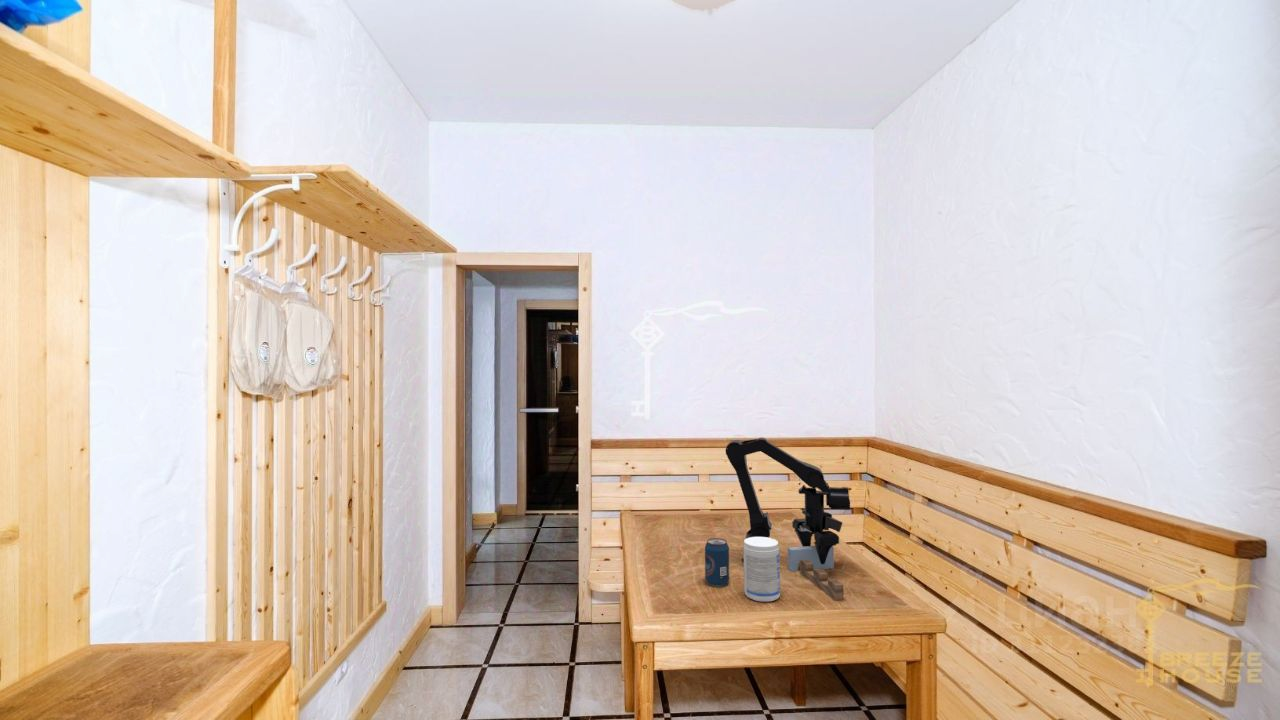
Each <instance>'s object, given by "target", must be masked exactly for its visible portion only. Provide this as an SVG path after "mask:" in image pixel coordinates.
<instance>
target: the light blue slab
mask: <svg viewBox="0 0 1280 720" xmlns="http://www.w3.org/2000/svg"><path fill="white" fill-rule="evenodd" d="M834 551H835V550H834V546H832V547H831V548H830V550H829V552H828V555H827V558H826V561H825V564H821V563H820V560H819V557H818V554H817V550H816V547H815V545H811V546H804V547H803V546H794V547H787V569H788V570H789V571H790V573H791V572H792V573H793V572H799V564H800V560H806V559H807V560H808V561H810V562H811V563H813V567H814V569H821V570H829V569H830V568H831V569H834V568H835V560H834V559H835V557H834V556H835V553H834Z"/></svg>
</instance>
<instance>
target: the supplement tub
mask: <svg viewBox="0 0 1280 720" xmlns="http://www.w3.org/2000/svg"><path fill="white" fill-rule="evenodd" d="M743 558H744V562H743V583H744V585H743V586H744V594H745V595H746V597H747V598H748V599H751V600H753V601H757V602H763V603H766V602H767V603H768V602H773V601H776V600H778V599H779V597H780V596H781V575H780V574H781V573H780V570H781V569H780V568H781V567H780V564H781V563H780V547H779V541H778V540H776V539H775V538H771V537H769V538H768V537H750V538H747V539H744V541H743Z"/></svg>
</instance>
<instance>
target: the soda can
mask: <svg viewBox="0 0 1280 720" xmlns="http://www.w3.org/2000/svg"><path fill="white" fill-rule="evenodd" d="M704 578H705V581H706V583H707V584H708V585H709V586H712V587H715V586H716V587H717V588H719V587H725V586H727V584H728V583H729V581H730V546H729V545H728V542H727V540H726V539H725V538H724V539H723V538H720V537H718V538H717V537H714V538H708V539H707V540H706V544H705V546H704Z"/></svg>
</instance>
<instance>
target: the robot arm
mask: <svg viewBox="0 0 1280 720" xmlns="http://www.w3.org/2000/svg"><path fill="white" fill-rule="evenodd" d="M758 452H762V453H763V454H764V455H766V456H767V457H769V458H771V459H773V460H774V461H776V462H777V463H779V464H780V465H782V466H784V467H786V468H787V469H789V470H791V471H792V472H793V473H794V474H795V475H796V476H797V477H798V478H799V479H800V480H801V481H802V482H804V484H802V486H801V487H800V488H798V491H797V492H798V494H799V495H801V494H802V495H804V509H802V510H801V514H803V515H804V518H795V519H793V521H792V524H791V525H792V529H793V530H794V532H795V534H796V536H797V538H798V540H799V542H800V544H801V545H802V546H801V547H804V546H812V545H811V544H812V536H813V535H814V537H813V538H814V542H813V543H814V546H815V547H816V550H817V554H818V557H819V560H820V563H821V564H825V561H826V558H827V555H828V552H829V550H830V548H831V547H834V546H836V545H838V544H840V536H839V535H838V534H837V533H835V532H833V531H836V532H838V533H840V532H841V529H842V526H843V521H840V520H839V519H837V518H834V517H833V515H832V514H831V513H829V512H826V511H825V505H826V506H827V507H828V508H829V510H839V511H851V500H850V494H849V488H848V487H847V486H843V487H841V486H840V487H839V486H838V487H837V486H834V487H833V486H830V485H829V483H828V482H827V481H826V480H825V477H824V476H825V475H824V474H823V471H822V470H821V468H820V467H818V466H816V465H813V464H811V463H808V462H805V461H802V460H800V459H798V458H796V457H794V456H793V455H792V454H790V453H788V452H786V451H785V450H783V449H781V448H780V447H778V446H777V445H775V444H773V443H771V442H770V441H769V440H767V438H766V437H758V438H755V439H748V440H742V441H741V440H739V439H733V440H731V441H730V442H729V443H728V444H727V445H726V447H725V455H726V457H727V459H728V461H729V463H730V465H731V466H732V467H733V469H734V471H735V474H736V476H737V477H736V478H737V479H738V483H739V485H740V489H741V493H742V495H743V499H744V502H745V505H746V508H747V511H748V515H749V525H750V529H749V530H748V531H747V532H746V533H745V537H744V538H745V539H747V538H750V537H768V538H770V537H771V530H772V528H773V526H772V525H773V523H772V522H771V520H770V517H769V516H770V515H769V512H768V511H767V512H765V513H764V511H763V510H762V507H761V506H760V503H759V499H758V496H757V493H756V490H755V487H754V483H753V480H752V477H751V473H750V470H749V469H748V462H747V461H748V460H747V455H751V454H754V453H758ZM805 484H806V485H807V486H809V487H807V486H806V485H805ZM817 489H818V490H817ZM832 530H833V531H832ZM745 539H744V540H745ZM741 561H742V562H743V563H744V557H743V558H741Z"/></svg>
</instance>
